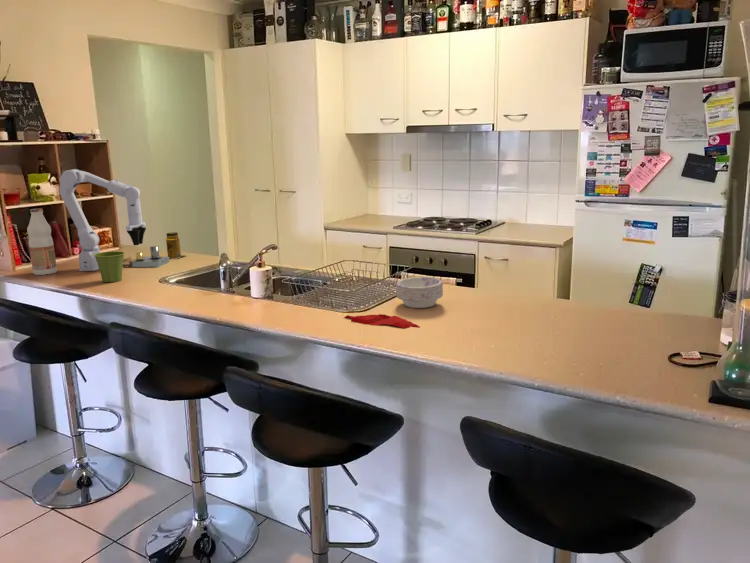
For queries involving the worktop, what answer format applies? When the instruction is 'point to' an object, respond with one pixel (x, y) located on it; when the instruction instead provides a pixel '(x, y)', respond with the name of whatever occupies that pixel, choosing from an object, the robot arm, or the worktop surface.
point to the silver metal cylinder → (154, 252)
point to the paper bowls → (419, 291)
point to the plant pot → (110, 265)
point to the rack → (128, 262)
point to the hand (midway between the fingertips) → (138, 244)
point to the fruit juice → (41, 244)
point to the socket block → (150, 262)
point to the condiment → (173, 245)
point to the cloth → (382, 320)
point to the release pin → (139, 256)
